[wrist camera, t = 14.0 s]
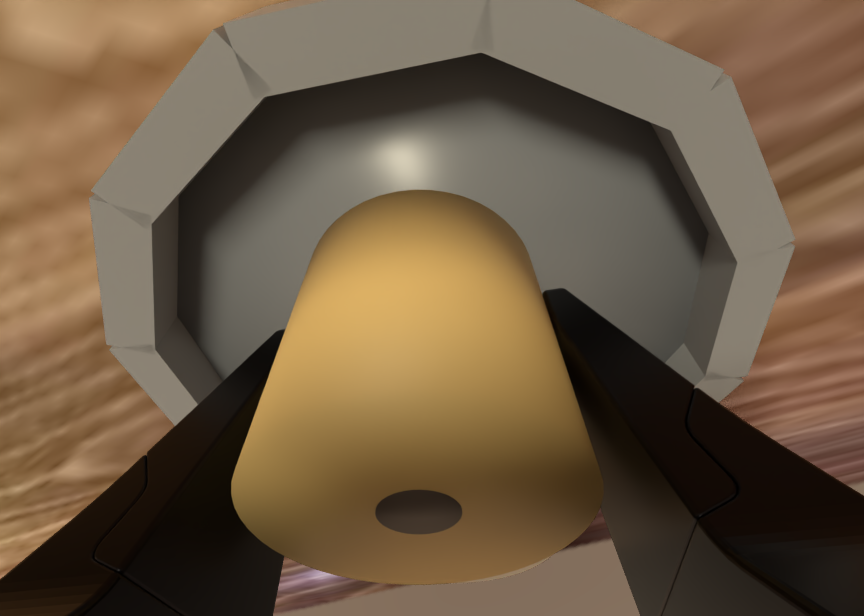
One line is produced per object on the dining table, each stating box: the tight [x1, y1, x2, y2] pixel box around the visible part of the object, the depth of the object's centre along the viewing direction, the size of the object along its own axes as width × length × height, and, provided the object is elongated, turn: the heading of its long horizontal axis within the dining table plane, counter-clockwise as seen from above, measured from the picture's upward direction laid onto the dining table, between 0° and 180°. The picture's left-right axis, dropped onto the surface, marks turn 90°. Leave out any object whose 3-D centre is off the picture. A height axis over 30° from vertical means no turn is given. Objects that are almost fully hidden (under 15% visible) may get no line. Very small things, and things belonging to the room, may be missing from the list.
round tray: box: [89, 0, 795, 426], centre depth 14 cm, size 17×17×3 cm
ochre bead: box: [231, 190, 604, 585], centre depth 8 cm, size 5×5×5 cm
